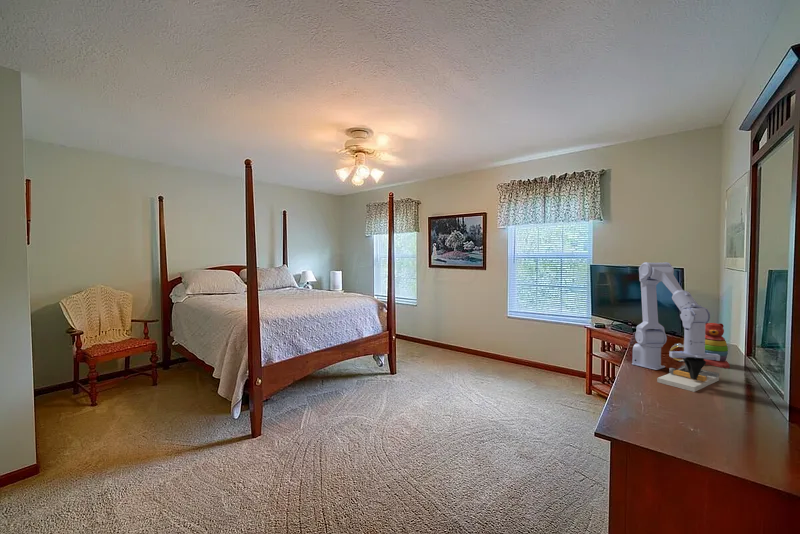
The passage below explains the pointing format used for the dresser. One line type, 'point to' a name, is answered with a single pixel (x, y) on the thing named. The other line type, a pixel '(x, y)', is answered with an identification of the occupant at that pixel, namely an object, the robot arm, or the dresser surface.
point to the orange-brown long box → (685, 374)
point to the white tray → (689, 380)
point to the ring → (677, 347)
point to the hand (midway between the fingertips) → (693, 378)
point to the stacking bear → (716, 344)
